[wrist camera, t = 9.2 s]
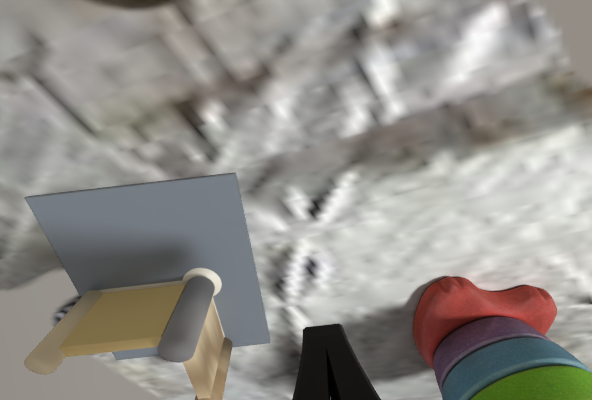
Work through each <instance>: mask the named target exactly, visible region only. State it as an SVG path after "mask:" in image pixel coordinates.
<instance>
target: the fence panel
mask: <svg viewBox="0 0 592 400" xmlns="http://www.w3.org/2000/svg"><path fill="white" fill-rule="evenodd" d="M214 290H215V285H214V283H213V282H212V281H211V280H210V279H208V278H206V277H203V276H195V277H192V278H191V279H189V280H188V282H187V284H184V285H175V286H166V287H157V288H148V289H139V290H130V291H120V292H111V293H102V292H100V291H97V290H90V291H87V292H86V293H85V294H84V295H83V296H82V297H81V298H80V300H79V301H78V302H77V303H76V304H75V305H74V306H73V307H72V308H71V309H70V311H69V312H68V313H67V314H66V315H65V316H64V317H63V318H62V319H61V320H60V322H59V323H58V324H57V325H56V326H55V327H54V328H53V329H52V330H51V332H49V334H48V335H47V336H46V337H45V338H44V339H43V340H42V341H41V342H40V343H39V345H38V346H37V347H36V348H35V349H34V350H33V351H32V352H31V353H30V354H29V356H28V357H27V358H26V359H25V361H24V364H25V366H26V367H27V368H28V369H29V370H31V371H32V372H34V373H37V374H45V375H46V374H51V373H53V372H54V371H55V370H56V369H57V367H58V366H59V365H60V364H61V362H62V361H63V359H65V357H69V356H78V355H87V354H96V353H105V352H115V351H124V350H133V349H142V348H151V347H157V350H158V353H159V354H160V356H161V357H163V358H164V359H166V360H168V361H171V362H185V361H188V360H190V359H191V358H192V357H193V355H194V353H195V350H196V347H197V344H198V340H199V337H200V334H201V331H202V328H203V325H204V322H205V319H206V315H207V312H208V309H209V306H210V303H211V300H212V297H213V294H214Z"/></svg>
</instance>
